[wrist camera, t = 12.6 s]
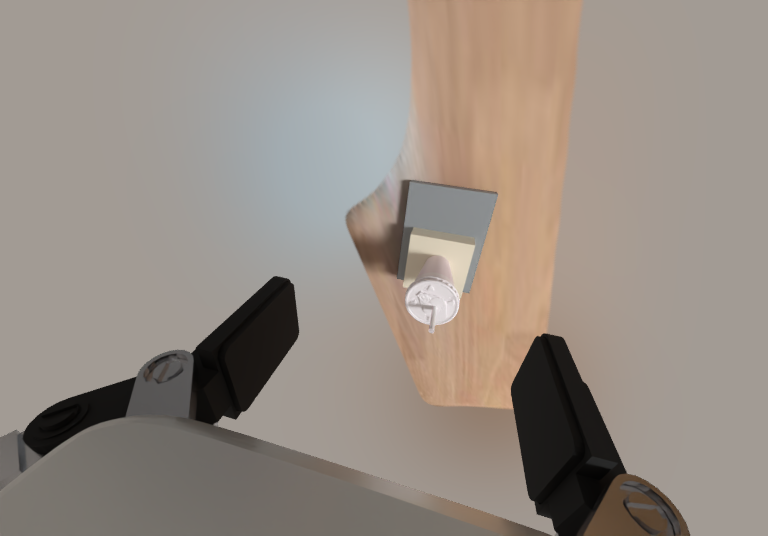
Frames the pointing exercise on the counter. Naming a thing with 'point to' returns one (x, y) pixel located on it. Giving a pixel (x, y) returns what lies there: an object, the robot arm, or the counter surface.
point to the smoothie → (433, 294)
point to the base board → (445, 230)
